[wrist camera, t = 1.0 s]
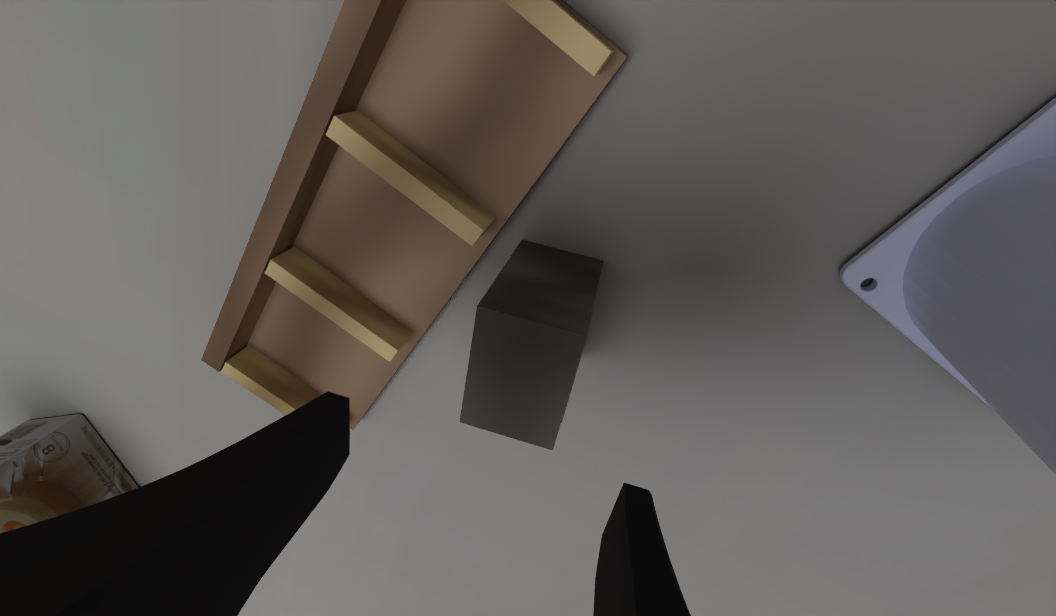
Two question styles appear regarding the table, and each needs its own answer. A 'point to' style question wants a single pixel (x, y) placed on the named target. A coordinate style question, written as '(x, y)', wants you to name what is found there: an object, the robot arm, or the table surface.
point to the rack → (399, 185)
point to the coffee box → (55, 470)
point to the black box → (529, 343)
